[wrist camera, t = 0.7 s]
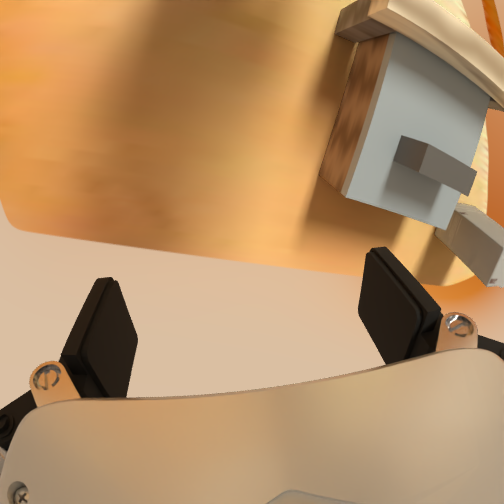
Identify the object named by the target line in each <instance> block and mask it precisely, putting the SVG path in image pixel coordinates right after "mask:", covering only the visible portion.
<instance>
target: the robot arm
mask: <svg viewBox="0 0 504 504" xmlns="http://www.w3.org/2000/svg"><path fill="white" fill-rule="evenodd" d="M440 311H441V308H440V306H439V305H438V304H437V303H436V302H435V301H434V299H433V298H432V297H431V296H430V295H429V294H428V292H427V291H426V290H425V289H424V288H423V287H422V286H421V284H420V283H419V282H418V281H417V280H416V279H415V278H414V277H413V275H412V274H411V273H410V272H409V271H408V270H407V269H406V268H405V267H404V266H403V264H402V263H401V262H400V261H399V260H398V259H397V258H396V257H395V256H394V255H393V254H392V253H391V252H390V251H389V249H388V248H386V247H378V248H372V249H371V250H370V252H368V253H367V254H366V258H365V266H364V273H363V281H362V287H361V293H360V300H359V305H358V314H359V317H360V318H361V320H362V322H363V323H364V326H365V327H366V329H367V331H368V333H369V334H370V336H371V338H372V340H373V342H374V343H375V345H376V347H377V349H378V351H379V353H380V355H381V356H382V358H383V360H384V362H385V364H386V365H383V366H379V367H375V368H371V369H367V370H362V371H358V372H353V373H349V374H345V375H339V376H334V377H329V378H324V379H319V380H314V381H308V382H302V383H297V384H290V385H283V386H277V387H270V388H262V389H255V390H247V391H237V392H227V393H217V394H205V395H190V396H172V397H138V398H126V396H127V391H128V386H129V381H130V376H131V371H132V366H133V361H134V357H135V352H136V348H137V343H138V338H137V333H136V331H135V328H134V325H133V323H132V320H131V317H130V315H129V312H128V309H127V306H126V303H125V301H124V298H123V295H122V292H121V289H120V286H119V283H118V281H116V280H115V281H114V280H113V278H112V277H107V278H98V279H97V280H96V281H95V283H94V285H93V287H92V289H91V291H90V293H89V295H88V297H87V299H86V301H85V303H84V305H83V307H82V309H81V311H80V313H79V315H78V317H77V320H76V322H75V324H74V326H73V328H72V331H71V332H70V335H69V337H68V339H67V342H66V344H65V346H64V348H63V351H62V353H61V357H60V360H59V362H57V361H49V362H45V363H43V364H41V365H39V366H38V367H37V368H36V369H35V370H34V371H33V372H32V374H31V376H30V381H29V384H30V388H31V390H29V391H28V392H26V393H25V394H23V395H22V396H20V397H19V398H18V399H16V400H14V401H13V402H11V403H10V404H8V405H7V406H5V407H4V408H2V409H1V410H0V504H504V343H501V342H498V341H495V340H492V339H489V338H486V337H483V336H480V335H478V329H477V325H476V323H475V322H474V321H473V320H472V319H471V318H470V317H468V316H467V315H465V314H462V313H457V312H452V313H448V314H446V315H445V316H443V314H442V313H441V312H440Z"/></svg>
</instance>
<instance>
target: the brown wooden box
mask: <svg viewBox="0 0 504 504" xmlns="http://www.w3.org/2000/svg"><path fill="white" fill-rule="evenodd" d="M370 4H371V0H357V1H355V2H354V3H352V4H350V5H348V6H347V7H345V8H343V9H342V10H341V13H340V16H339V19H338V23H337V26H336V30H335V33H334V34H335V35H338V36H340V37H343V38H345V39H347V40H350V41H352V42H354V43H356V42H359V44H358V48H357V51H356V55H355V58H354V62H353V65H352V69H351V72H350V76H349V79H348V82H347V86H346V89H345V92H344V96H343V99H342V102H341V106H340V109H339V112H338V115H337V119H336V122H335V125H334V128H333V131H332V134H331V138H330V141H329V144H328V147H327V150H326V153H325V156H324V159H323V162H322V165H321V169H320V172H319V176H321V177H322V178H323V179H324V180H325V181H327V182H328V183H329V184H330V185H332V186H333V187H334V188H335V189H336V190H338V191H339V192H340V193H341V190H342V187H343V184H344V182H345V179H346V176H347V173H348V170H349V167H350V164H351V161H352V158H353V155H354V152H355V149H356V146H357V143H358V140H359V137H360V134H361V131H362V128H363V125H364V121H365V118H366V115H367V112H368V109H369V105H370V102H371V99H372V95H373V92H374V89H375V85H376V82H377V78H378V75H379V71H380V68H381V64H382V60H383V57H384V53H385V49H386V46H387V42H388V38H389V34H390V33H392V32H396V30H394V29H392V28H390V27H388V26H386V25H384V24H382V23H381V22H379V21H377V20H375V19H373V18H371V17H369V16H367V15H368V11H369V7H370ZM488 108H490V109H495V110H500V111H504V108H503V107H502V106H501V105H500V104H499V103H498V102H496V101H495V100H494V99H493V98H492V97H490V101H489V105H488Z"/></svg>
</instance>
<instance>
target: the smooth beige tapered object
mask: <svg viewBox="0 0 504 504" xmlns="http://www.w3.org/2000/svg"><path fill="white" fill-rule="evenodd" d="M367 16H369V17H371V18H373V19H375V20H377V21H379V22H381V23H382V24H384V25H386V26H388V27H390V28H392V29H394V30H396V31H397V32H399V33H401V34H403V35H404V36H406V37H408V38H410V39H411V40H413V41H415V42H416V43H418V44H420V45H421V46H423V47H424V48H426V49H428V50H429V51H431V52H432V53H434V54H435V55H437V56H438V57H440V58H441V59H443V60H444V61H446V62H447V63H448V64H450V65H451V66H453V67H454V68H455V69H457V70H458V71H459V72H461V73H462V74H463V75H465V76H466V77H467V78H469V79H470V80H471V81H473V82H474V83H475V84H476V85H478V86H479V87H480V88H481V89H482V90H484V91H485V92H486V93H487V94H488V95H490V96H491V97H492V98H493V99H494V100H495V101H496V102H498V103H499V104H500V105H501V106H502V107H503V108H504V58H503V57H502V56H501V55H500V54H499V53H498V52H497V51H496V50H495V49H494V48H493V47H492V46H491V45H489V44H488V43H487V42H486V41H485V40H484V39H483V38H482V37H480V36H479V35H478V34H477V33H476V32H475V31H473V30H472V29H471V28H470V27H469V26H467V25H466V24H465V23H464V22H462V21H461V20H460V19H458V18H457V17H456V16H455V15H453V14H452V13H451V12H449V11H448V10H446V9H445V8H444V7H442V6H441V5H439V4H438V3H437V2H435V1H434V0H371V4H370V7H369V11H368V15H367Z"/></svg>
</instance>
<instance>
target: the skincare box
mask: <svg viewBox="0 0 504 504" xmlns="http://www.w3.org/2000/svg"><path fill="white" fill-rule="evenodd" d="M435 236H436V237H437V238H439V239H440V240H441V241H442V242H443V243H444V244H445V245H446V246H447V247H448V248H449V249H450V250H451V251H452V252H453V253H454V254H455V255H456V256H457V257H458V258H459V259H460V260H461V261H462V262H463V263H464V264H465V265H466V266H467V267H468V268H469V269H470V270H471V271H472V272H473V273H474V274H475V275H476V276H477V277H478V278H479V279H480V280H481V281H482V282H483V284H484V285H485V286H486V287H492V286H499V287H501V288H502V287H504V228H503V227H501V226H500V225H499V224H498V223H496V222H495V221H494V220H492V219H491V218H490V217H488V216H487V215H486V214H484V213H483V212H482V211H480V210H479V209H477V208H476V207H475V206H471V205H467V204H462V203H457V205H456V207H455V210H454V212H453V214H452V217H451V219H450V222H449V224H448V226H447V228H446V230H443V229H441V228H438V227H437V228H436V231H435Z"/></svg>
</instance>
